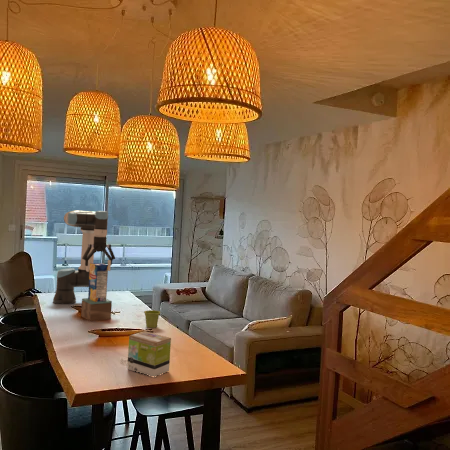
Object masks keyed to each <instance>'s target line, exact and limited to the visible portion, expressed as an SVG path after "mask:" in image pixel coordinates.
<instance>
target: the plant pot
mask: <svg viewBox="0 0 450 450" xmlns="http://www.w3.org/2000/svg"><path fill="white" fill-rule="evenodd" d="M143 313H144V316H145V326H146V328H149V329H150V328H152V329H155V328H157V327H158V322H159V316H160V314H161V311H159V310H153V309H152V310H145V311H144V312H143Z"/></svg>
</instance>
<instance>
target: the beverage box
mask: <svg viewBox="0 0 450 450" xmlns="http://www.w3.org/2000/svg"><path fill="white" fill-rule="evenodd" d="M108 275H109V272H108V263H107V264H106V263H102V262H93V263H90V274H89V287H88V296H87V298H88V299H90V300H92V301H94V302H101V301H106V299H107V297H108V296H107V294H108Z"/></svg>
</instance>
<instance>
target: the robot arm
mask: <svg viewBox="0 0 450 450" xmlns="http://www.w3.org/2000/svg"><path fill="white" fill-rule="evenodd" d="M108 219H109V213H108V211H106V210H96V211H92V210H77V209H76V210H71V211H68V212H66V213H65V214H64V215H63V220H64V223H65V224H66V225H68V226H70V227H74V228H80V231H81V233H82V235H81V237H82V238H81V252H80V253H81V254H80V265H79V267H78V268H77V270H76V268H73V267H71V268H62V269H59V270H58V271H57V273H56V274H57V275H56V287H55V290H56V291H55V294H54V297H53V298H52V303H53V304H58V305H70V304H75V303H76V302H77V298H76V295H75V288H89V274H90V263H94V258H95V253H97V252H98V253H99V252H100V253H101V252H103V253H104V254H105V256H106V257H107V259H108V260H107V265H108V271H109V272H111V267H112V265H113V260H115V259H116V257H115V254H114V251H113V248H112V245H111V244H110V243H108V244H107V238H108V237H107V235H108ZM106 248H107V249H106Z"/></svg>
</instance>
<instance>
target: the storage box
mask: <svg viewBox="0 0 450 450" xmlns="http://www.w3.org/2000/svg"><path fill="white" fill-rule="evenodd" d="M112 304H113V303H102V304H89V303H87V302H85V301H83V300H82V299H81V309H80V311H81V313H80V317H82V318H84V319H86V320H88V321H89V322H95V321H106V320H111V319H112V308H113V307H112V306H113V305H112Z"/></svg>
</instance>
